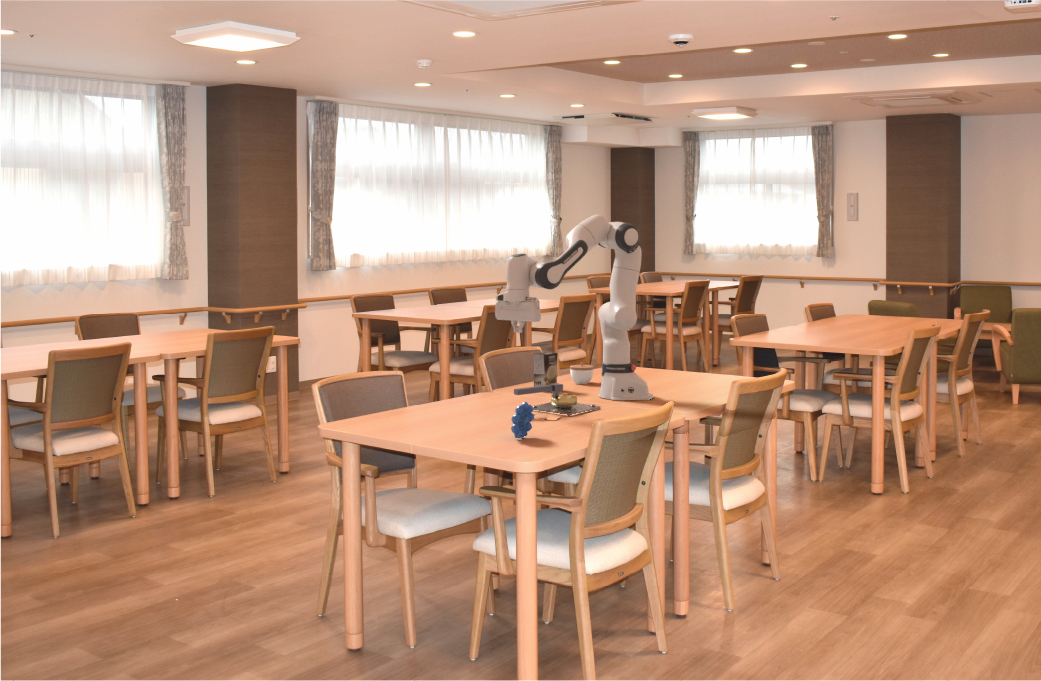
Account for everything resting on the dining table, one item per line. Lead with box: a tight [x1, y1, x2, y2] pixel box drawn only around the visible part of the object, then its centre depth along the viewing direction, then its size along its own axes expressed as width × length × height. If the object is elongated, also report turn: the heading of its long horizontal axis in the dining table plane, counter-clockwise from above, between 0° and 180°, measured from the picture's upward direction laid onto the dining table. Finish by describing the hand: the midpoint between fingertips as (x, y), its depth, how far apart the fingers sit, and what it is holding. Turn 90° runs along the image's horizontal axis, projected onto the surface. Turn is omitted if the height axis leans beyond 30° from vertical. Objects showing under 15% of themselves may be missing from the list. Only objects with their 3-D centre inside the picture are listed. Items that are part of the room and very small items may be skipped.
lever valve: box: [513, 382, 578, 406], centre depth 364 cm, size 28×10×8 cm, turn 127°
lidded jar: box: [569, 361, 595, 385], centre depth 435 cm, size 11×11×9 cm
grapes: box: [510, 401, 535, 439], centre depth 318 cm, size 12×7×12 cm, turn 146°
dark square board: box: [531, 401, 601, 415], centre depth 370 cm, size 20×20×2 cm
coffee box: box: [533, 351, 558, 387], centre depth 415 cm, size 9×6×16 cm
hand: (518, 332), depth 371 cm, fingers closed
